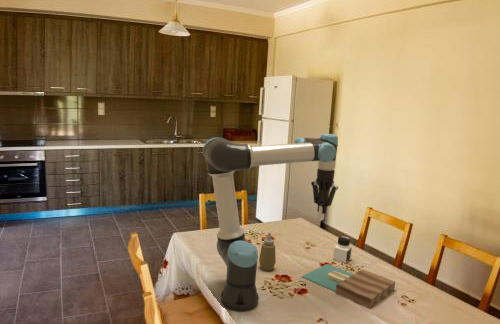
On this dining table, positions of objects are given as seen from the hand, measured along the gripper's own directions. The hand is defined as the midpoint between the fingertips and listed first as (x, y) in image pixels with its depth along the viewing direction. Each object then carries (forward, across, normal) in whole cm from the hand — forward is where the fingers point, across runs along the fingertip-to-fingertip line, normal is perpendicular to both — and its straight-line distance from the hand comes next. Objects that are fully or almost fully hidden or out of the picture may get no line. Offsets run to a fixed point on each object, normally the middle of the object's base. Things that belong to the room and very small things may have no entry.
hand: (320, 219), depth 176 cm
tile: (+28, -9, -7) cm, 30 cm away
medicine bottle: (+29, +3, -30) cm, 42 cm away
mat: (+28, -4, -7) cm, 30 cm away
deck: (+28, -22, -7) cm, 37 cm away
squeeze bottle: (+29, +21, +10) cm, 37 cm away
